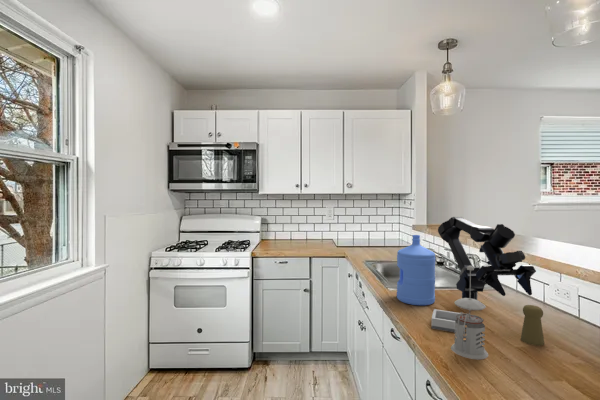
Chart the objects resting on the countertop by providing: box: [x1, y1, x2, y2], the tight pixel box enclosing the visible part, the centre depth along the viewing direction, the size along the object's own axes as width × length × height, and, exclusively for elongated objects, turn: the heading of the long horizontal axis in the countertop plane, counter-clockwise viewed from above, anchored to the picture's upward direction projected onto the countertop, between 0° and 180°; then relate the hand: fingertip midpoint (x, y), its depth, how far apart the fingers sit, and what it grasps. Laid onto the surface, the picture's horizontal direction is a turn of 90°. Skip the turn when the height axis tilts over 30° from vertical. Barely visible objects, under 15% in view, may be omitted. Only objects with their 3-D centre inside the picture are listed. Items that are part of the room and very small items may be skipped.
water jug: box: [396, 234, 437, 306], centre depth 141 cm, size 16×16×28 cm
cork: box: [520, 304, 545, 347], centre depth 102 cm, size 6×6×11 cm
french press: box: [450, 265, 489, 360], centre depth 95 cm, size 10×12×25 cm
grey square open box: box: [430, 308, 464, 334], centre depth 114 cm, size 10×10×4 cm
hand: (517, 295), depth 108 cm, fingers open, 9 cm apart
